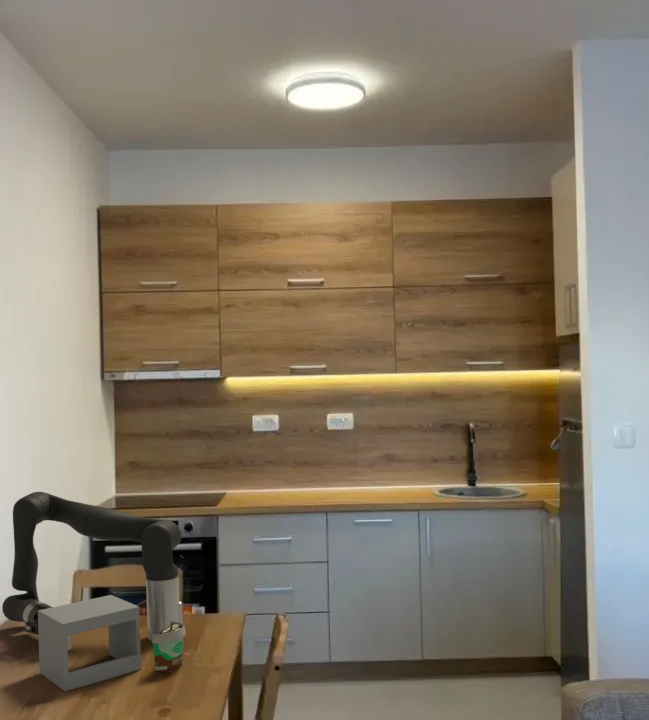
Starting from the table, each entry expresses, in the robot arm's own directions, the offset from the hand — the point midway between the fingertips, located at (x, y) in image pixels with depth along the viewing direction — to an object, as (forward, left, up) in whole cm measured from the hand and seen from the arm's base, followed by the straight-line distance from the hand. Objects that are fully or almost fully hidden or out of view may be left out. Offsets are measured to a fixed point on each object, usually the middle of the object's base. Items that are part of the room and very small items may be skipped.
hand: (62, 629), depth 214 cm
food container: (-17, +31, -7) cm, 36 cm away
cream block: (0, -3, -6) cm, 7 cm away
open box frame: (0, +18, -7) cm, 20 cm away
